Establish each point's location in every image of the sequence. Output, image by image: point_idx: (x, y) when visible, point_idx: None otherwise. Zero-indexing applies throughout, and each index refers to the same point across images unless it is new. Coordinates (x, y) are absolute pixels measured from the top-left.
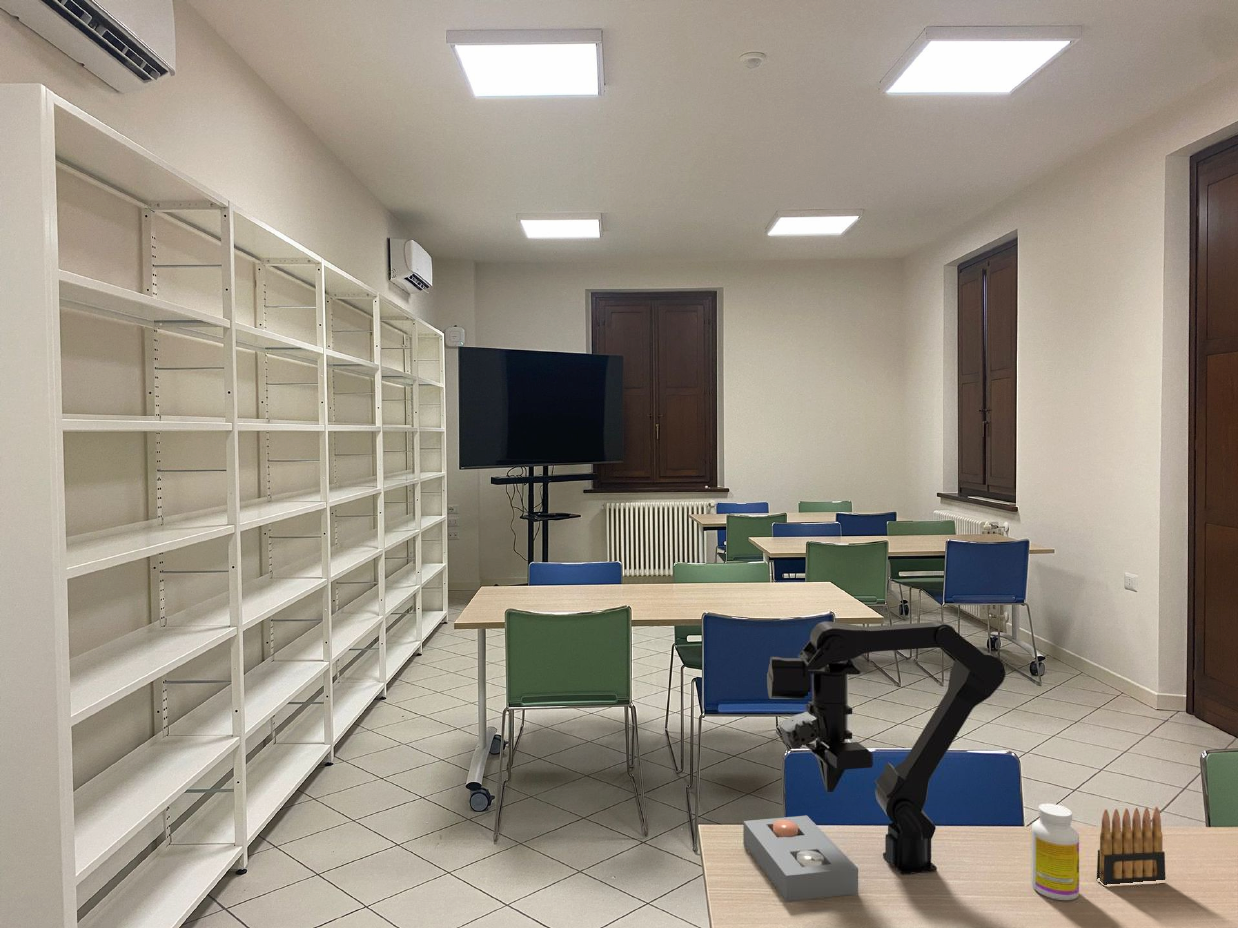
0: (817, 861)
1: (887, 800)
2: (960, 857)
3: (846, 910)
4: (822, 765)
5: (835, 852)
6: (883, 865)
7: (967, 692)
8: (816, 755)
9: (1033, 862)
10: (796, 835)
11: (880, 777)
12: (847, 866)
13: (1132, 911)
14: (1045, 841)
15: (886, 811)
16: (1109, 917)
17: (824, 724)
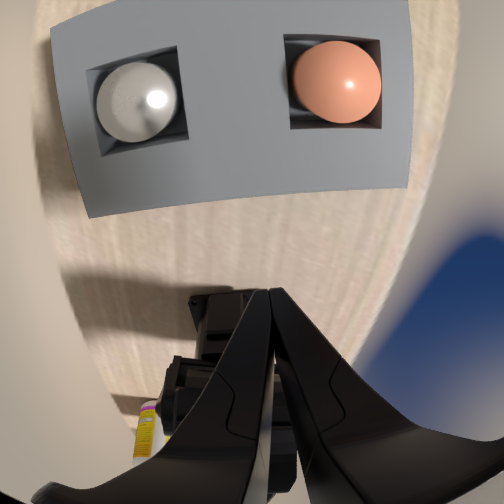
0: (106, 118)
1: (183, 412)
2: None
3: (55, 152)
4: (303, 405)
5: (166, 185)
6: (228, 278)
7: None
8: (344, 470)
9: (159, 427)
10: (304, 105)
11: (291, 444)
12: (93, 195)
13: (137, 426)
14: (138, 456)
15: (186, 383)
16: (122, 413)
17: None
